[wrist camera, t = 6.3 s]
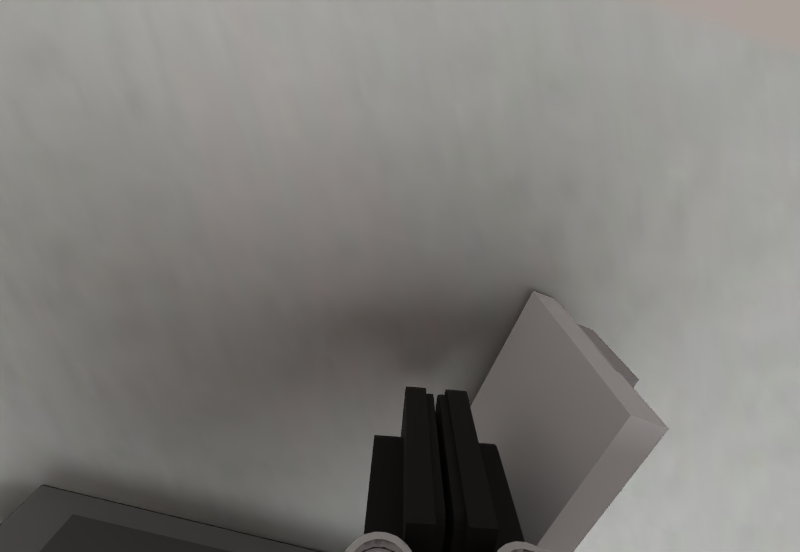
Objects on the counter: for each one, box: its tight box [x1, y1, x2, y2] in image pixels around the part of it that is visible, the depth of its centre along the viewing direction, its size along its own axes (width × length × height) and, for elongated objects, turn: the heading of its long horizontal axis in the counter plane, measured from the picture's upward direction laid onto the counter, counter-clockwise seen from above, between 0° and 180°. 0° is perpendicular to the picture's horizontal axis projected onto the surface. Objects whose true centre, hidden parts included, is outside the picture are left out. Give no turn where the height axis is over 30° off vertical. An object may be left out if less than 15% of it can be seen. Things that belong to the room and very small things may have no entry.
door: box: [470, 291, 669, 552], centre depth 12 cm, size 14×1×6 cm, turn 159°
